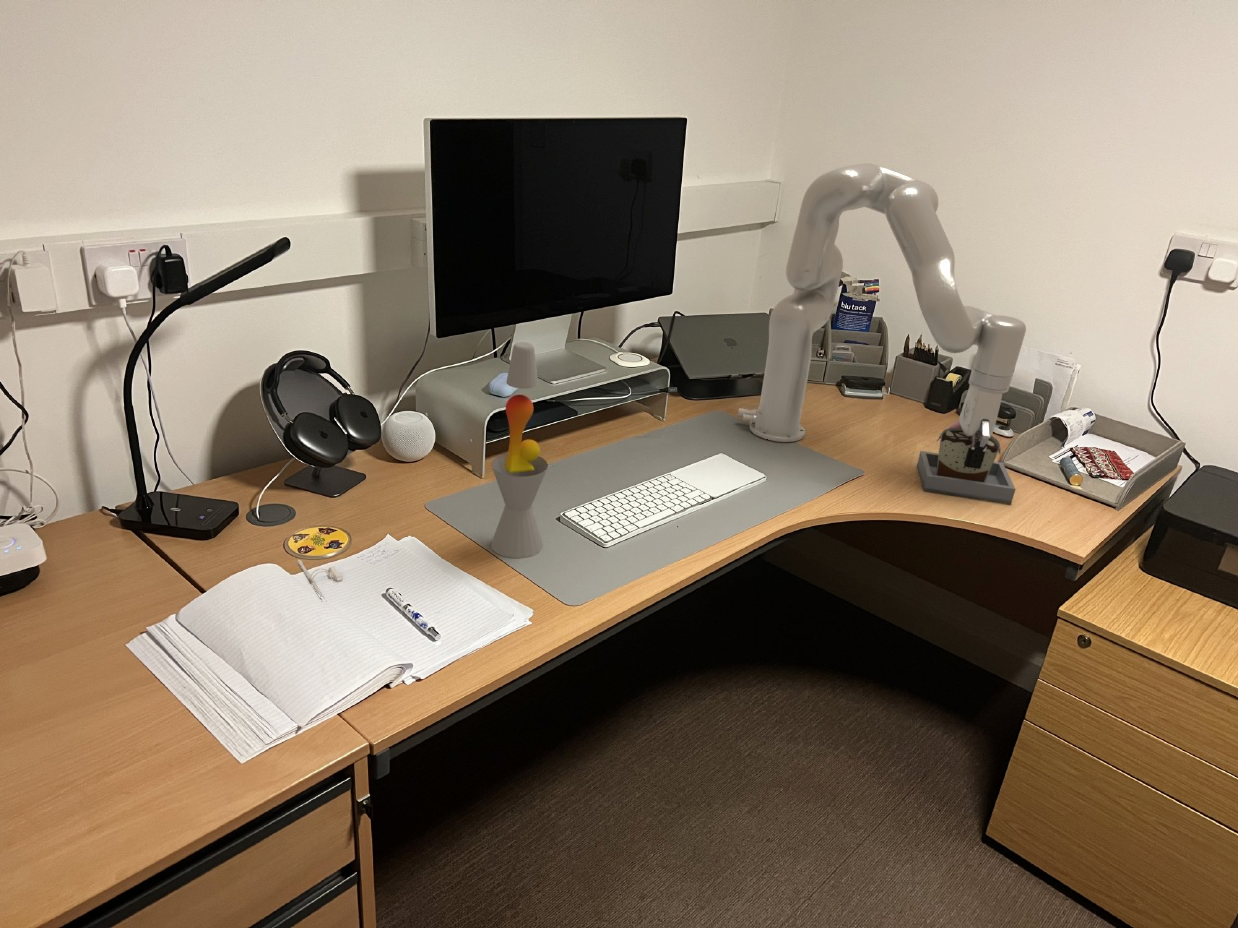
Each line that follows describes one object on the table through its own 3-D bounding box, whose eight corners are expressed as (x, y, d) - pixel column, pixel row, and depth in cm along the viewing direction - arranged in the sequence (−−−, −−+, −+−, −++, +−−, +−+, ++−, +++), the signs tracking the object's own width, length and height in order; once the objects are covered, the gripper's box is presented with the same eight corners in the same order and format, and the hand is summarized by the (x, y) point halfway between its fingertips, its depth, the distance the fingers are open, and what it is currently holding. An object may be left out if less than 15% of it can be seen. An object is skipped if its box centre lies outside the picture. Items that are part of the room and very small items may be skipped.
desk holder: (923, 491, 179) (927, 476, 177) (916, 465, 190) (920, 450, 189) (1010, 504, 176) (1015, 489, 175) (998, 477, 188) (1002, 462, 186)
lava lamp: (498, 562, 142) (503, 355, 127) (483, 535, 149) (486, 336, 134) (551, 554, 146) (562, 352, 131) (534, 527, 153) (542, 334, 138)
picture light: (295, 562, 138) (294, 550, 137) (323, 556, 141) (323, 544, 140) (323, 608, 128) (323, 596, 127) (353, 600, 130) (353, 588, 130)
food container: (992, 476, 185) (1004, 434, 180) (990, 489, 180) (1003, 446, 175) (931, 463, 189) (942, 421, 184) (928, 475, 184) (939, 432, 179)
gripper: (963, 363, 182) (943, 438, 189) (978, 391, 166) (955, 472, 174) (1001, 368, 181) (979, 444, 188) (1019, 397, 165) (994, 478, 172)
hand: (968, 457), depth 181 cm, fingers open, 9 cm apart
